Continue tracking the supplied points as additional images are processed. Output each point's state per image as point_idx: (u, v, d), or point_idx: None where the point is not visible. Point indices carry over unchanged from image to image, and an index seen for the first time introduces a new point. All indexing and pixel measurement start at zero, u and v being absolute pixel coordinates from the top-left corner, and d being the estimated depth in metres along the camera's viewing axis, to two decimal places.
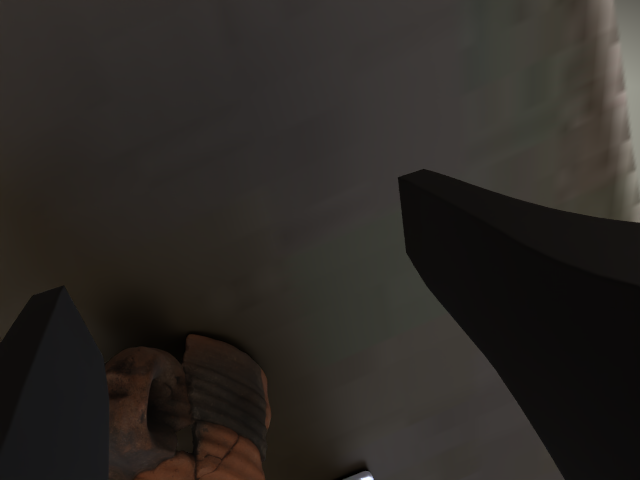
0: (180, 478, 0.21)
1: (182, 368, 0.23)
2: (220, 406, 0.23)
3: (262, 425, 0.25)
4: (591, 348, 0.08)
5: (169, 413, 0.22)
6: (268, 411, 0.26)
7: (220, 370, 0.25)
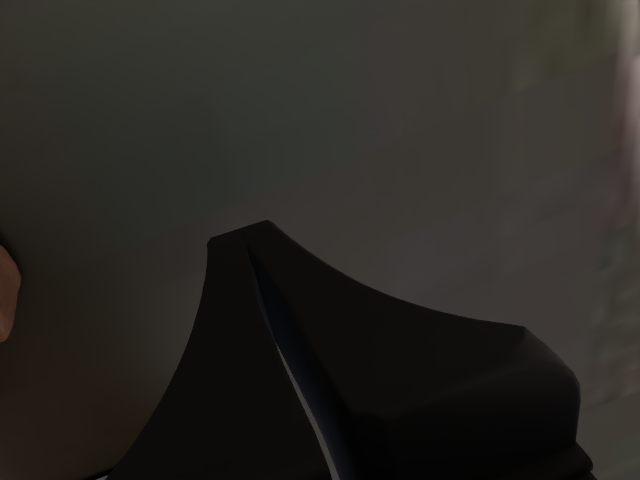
0: None
1: None
2: None
3: None
4: (346, 446, 0.07)
5: None
6: None
7: None
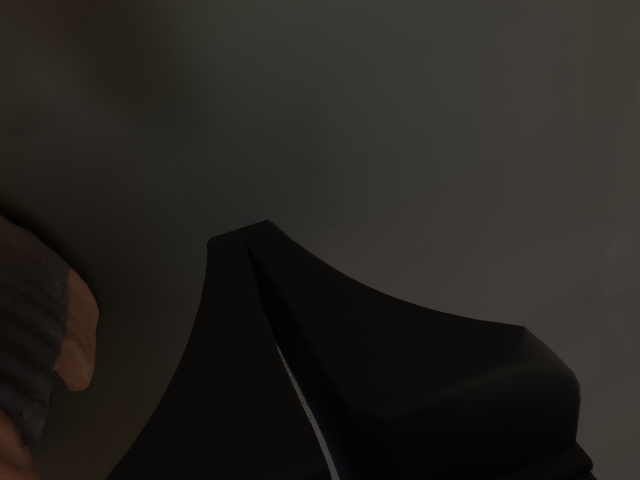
0: None
1: None
2: None
3: (35, 369, 0.11)
4: (346, 446, 0.07)
5: None
6: (73, 347, 0.13)
7: None
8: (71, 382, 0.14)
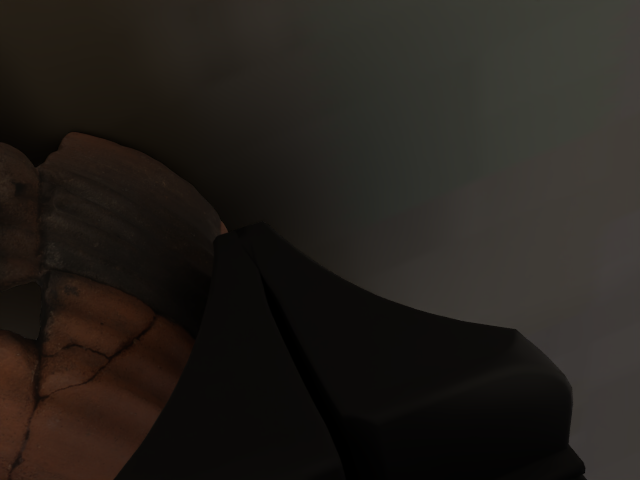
0: None
1: (35, 172, 0.11)
2: (117, 253, 0.11)
3: None
4: (339, 449, 0.07)
5: None
6: None
7: (128, 193, 0.12)
8: None
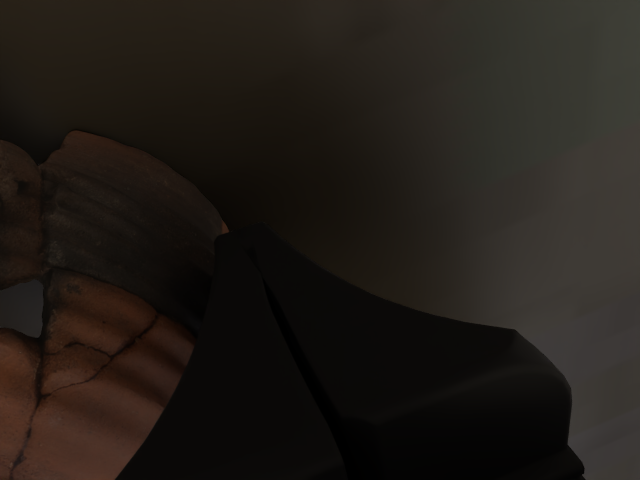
0: None
1: (38, 170, 0.11)
2: (118, 251, 0.11)
3: None
4: None
5: None
6: None
7: (130, 192, 0.12)
8: None
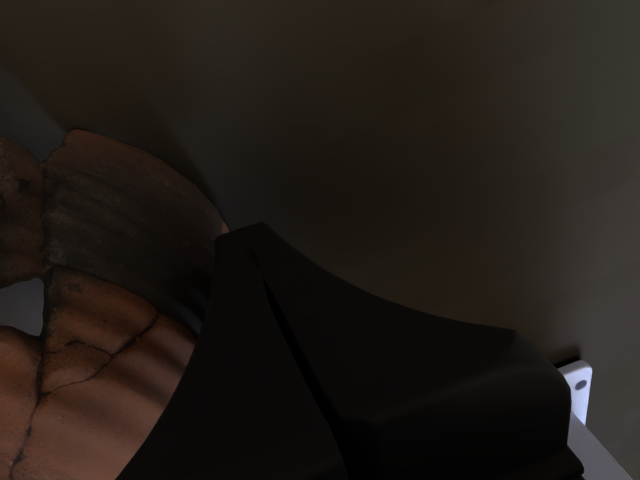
0: None
1: (39, 168, 0.11)
2: (119, 250, 0.11)
3: None
4: None
5: None
6: None
7: (131, 191, 0.12)
8: None
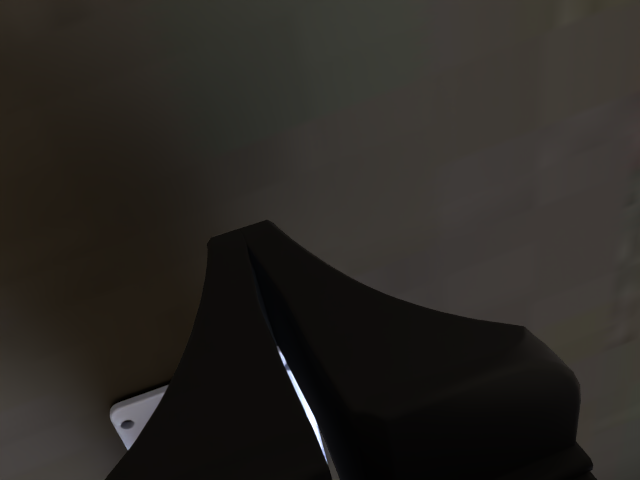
0: None
1: None
2: None
3: None
4: (346, 446, 0.07)
5: None
6: None
7: None
8: None
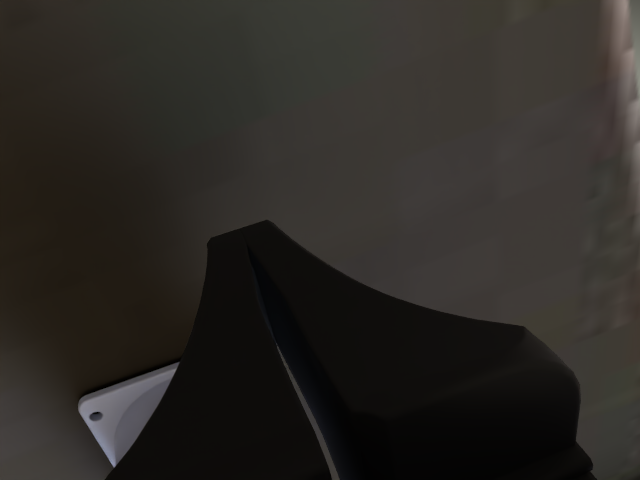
0: None
1: None
2: None
3: None
4: (346, 446, 0.07)
5: None
6: None
7: None
8: None
